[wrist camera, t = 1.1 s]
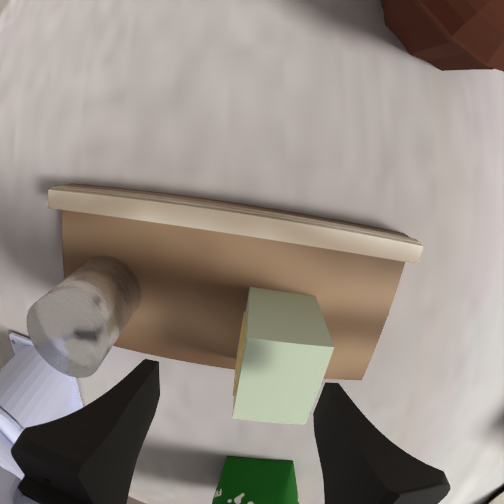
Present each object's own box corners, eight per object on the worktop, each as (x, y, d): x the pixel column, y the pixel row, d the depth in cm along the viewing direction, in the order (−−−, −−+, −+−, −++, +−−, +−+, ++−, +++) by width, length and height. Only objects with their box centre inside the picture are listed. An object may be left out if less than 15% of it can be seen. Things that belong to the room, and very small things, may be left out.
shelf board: (357, 371, 24) (367, 394, 21) (77, 326, 23) (60, 345, 21) (404, 232, 21) (424, 244, 18) (71, 182, 20) (48, 188, 17)
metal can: (141, 325, 22) (105, 387, 15) (82, 312, 22) (36, 363, 15) (142, 262, 20) (95, 311, 14) (79, 250, 20) (20, 291, 13)
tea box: (315, 295, 21) (334, 347, 15) (295, 366, 23) (305, 424, 17) (247, 286, 21) (244, 337, 15) (235, 359, 22) (229, 418, 17)
